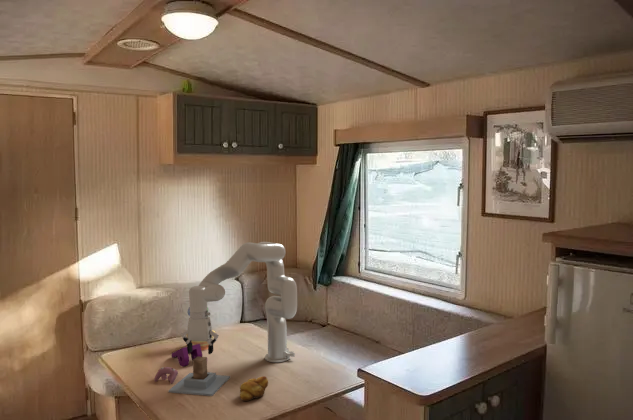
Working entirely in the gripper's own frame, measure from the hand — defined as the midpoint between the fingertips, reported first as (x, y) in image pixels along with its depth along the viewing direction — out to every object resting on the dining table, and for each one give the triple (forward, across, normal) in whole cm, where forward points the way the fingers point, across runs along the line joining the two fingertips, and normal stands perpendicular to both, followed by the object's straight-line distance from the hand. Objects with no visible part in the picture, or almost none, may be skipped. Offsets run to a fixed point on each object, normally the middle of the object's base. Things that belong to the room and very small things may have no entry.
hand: (200, 352), depth 225 cm
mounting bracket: (+15, +21, -26) cm, 36 cm away
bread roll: (+15, -26, +8) cm, 31 cm away
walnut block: (+14, 0, 0) cm, 14 cm away
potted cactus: (+15, +21, -45) cm, 52 cm away
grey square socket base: (+14, 0, +1) cm, 14 cm away
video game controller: (+14, +18, -1) cm, 23 cm away
